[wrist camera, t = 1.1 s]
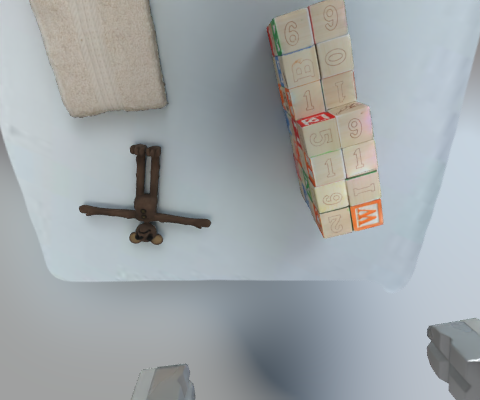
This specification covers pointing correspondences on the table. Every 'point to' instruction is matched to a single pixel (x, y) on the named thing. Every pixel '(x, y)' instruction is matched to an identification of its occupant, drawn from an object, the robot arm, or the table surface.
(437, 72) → the table surface
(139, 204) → the brown toy monkey
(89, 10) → the washcloth
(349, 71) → the stack of blocks
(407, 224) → the table surface
